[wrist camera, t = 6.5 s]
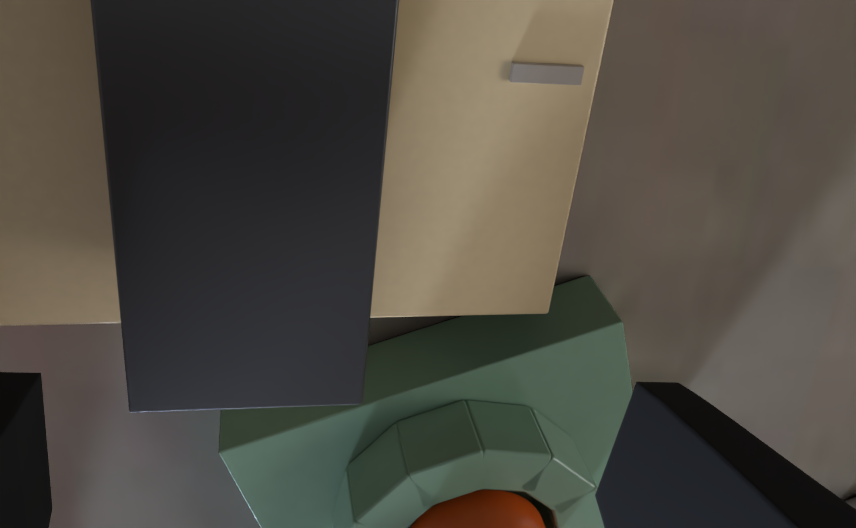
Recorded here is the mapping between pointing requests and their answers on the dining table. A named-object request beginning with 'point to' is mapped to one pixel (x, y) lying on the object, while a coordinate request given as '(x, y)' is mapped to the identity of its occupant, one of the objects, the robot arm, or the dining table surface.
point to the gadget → (244, 194)
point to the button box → (449, 423)
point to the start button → (482, 512)
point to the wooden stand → (403, 169)
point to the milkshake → (852, 502)
